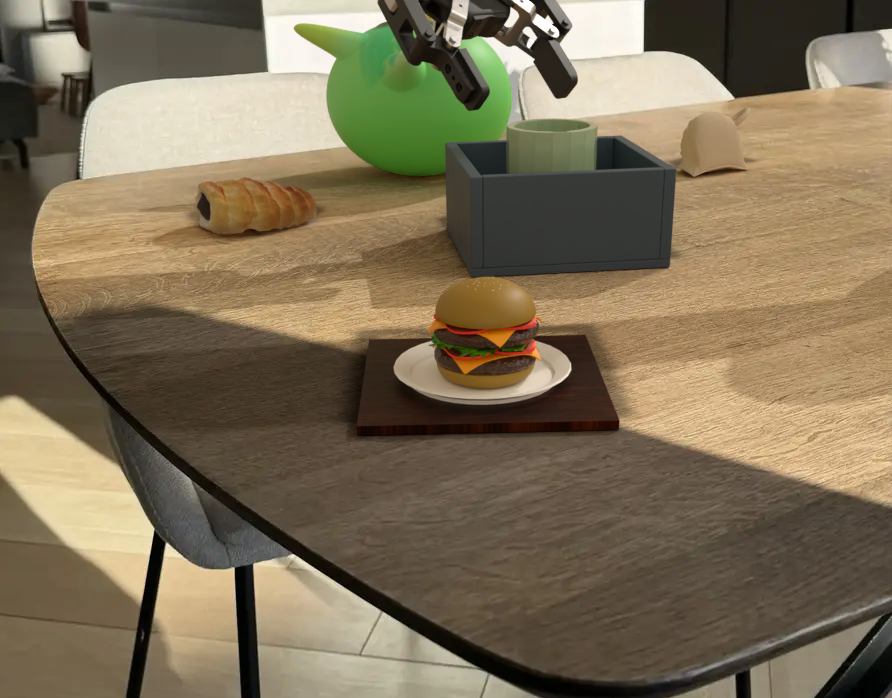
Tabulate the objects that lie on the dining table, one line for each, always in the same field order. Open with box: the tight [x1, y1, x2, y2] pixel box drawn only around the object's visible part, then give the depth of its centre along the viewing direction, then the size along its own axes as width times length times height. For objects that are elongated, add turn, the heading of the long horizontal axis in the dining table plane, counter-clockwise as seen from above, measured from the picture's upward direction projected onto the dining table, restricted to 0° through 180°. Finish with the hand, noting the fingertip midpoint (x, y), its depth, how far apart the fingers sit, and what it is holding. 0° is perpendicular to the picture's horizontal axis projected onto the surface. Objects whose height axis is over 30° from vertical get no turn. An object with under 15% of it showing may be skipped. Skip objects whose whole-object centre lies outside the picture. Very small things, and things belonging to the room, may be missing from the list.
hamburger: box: [356, 276, 620, 436], centre depth 55 cm, size 12×12×6 cm
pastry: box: [194, 177, 318, 236], centre depth 88 cm, size 9×7×4 cm
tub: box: [505, 117, 599, 174], centre depth 79 cm, size 6×6×8 cm
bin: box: [445, 135, 677, 278], centre depth 80 cm, size 14×14×7 cm
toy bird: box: [293, 14, 513, 177], centre depth 103 cm, size 18×17×15 cm
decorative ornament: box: [677, 107, 752, 178], centre depth 105 cm, size 4×8×5 cm, turn 116°
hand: (526, 96), depth 78 cm, fingers open, 8 cm apart
